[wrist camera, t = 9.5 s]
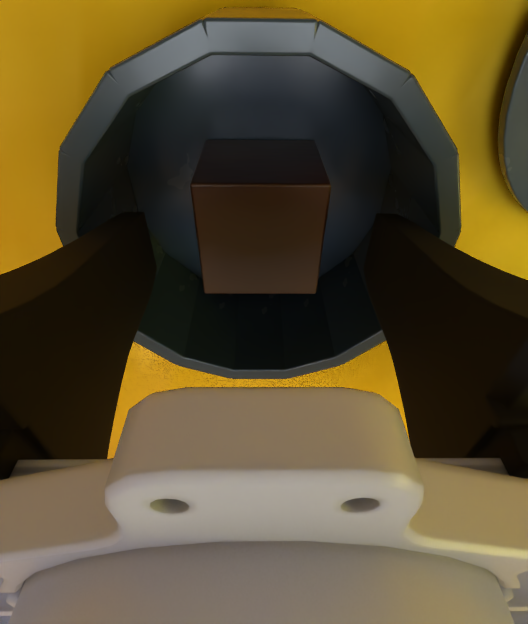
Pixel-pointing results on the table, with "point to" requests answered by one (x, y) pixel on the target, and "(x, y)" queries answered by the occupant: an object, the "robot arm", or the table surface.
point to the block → (260, 216)
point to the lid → (515, 129)
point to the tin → (258, 126)
